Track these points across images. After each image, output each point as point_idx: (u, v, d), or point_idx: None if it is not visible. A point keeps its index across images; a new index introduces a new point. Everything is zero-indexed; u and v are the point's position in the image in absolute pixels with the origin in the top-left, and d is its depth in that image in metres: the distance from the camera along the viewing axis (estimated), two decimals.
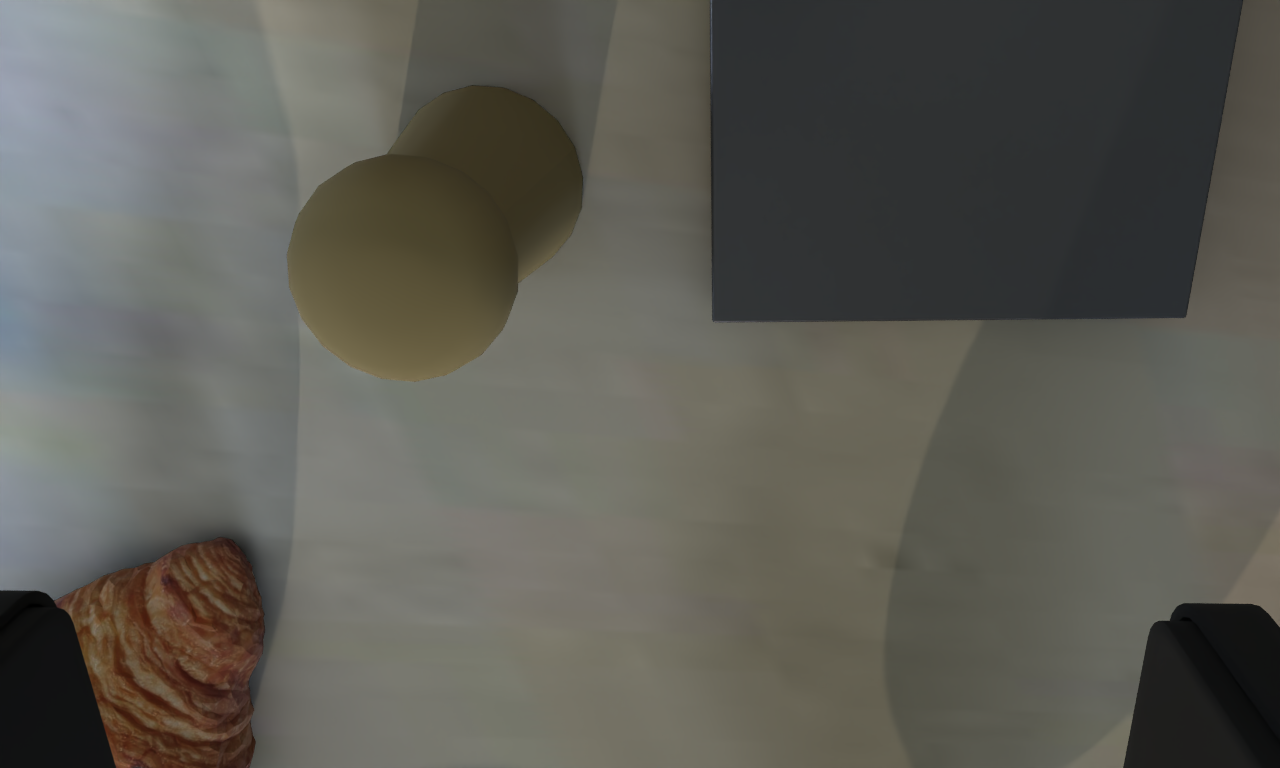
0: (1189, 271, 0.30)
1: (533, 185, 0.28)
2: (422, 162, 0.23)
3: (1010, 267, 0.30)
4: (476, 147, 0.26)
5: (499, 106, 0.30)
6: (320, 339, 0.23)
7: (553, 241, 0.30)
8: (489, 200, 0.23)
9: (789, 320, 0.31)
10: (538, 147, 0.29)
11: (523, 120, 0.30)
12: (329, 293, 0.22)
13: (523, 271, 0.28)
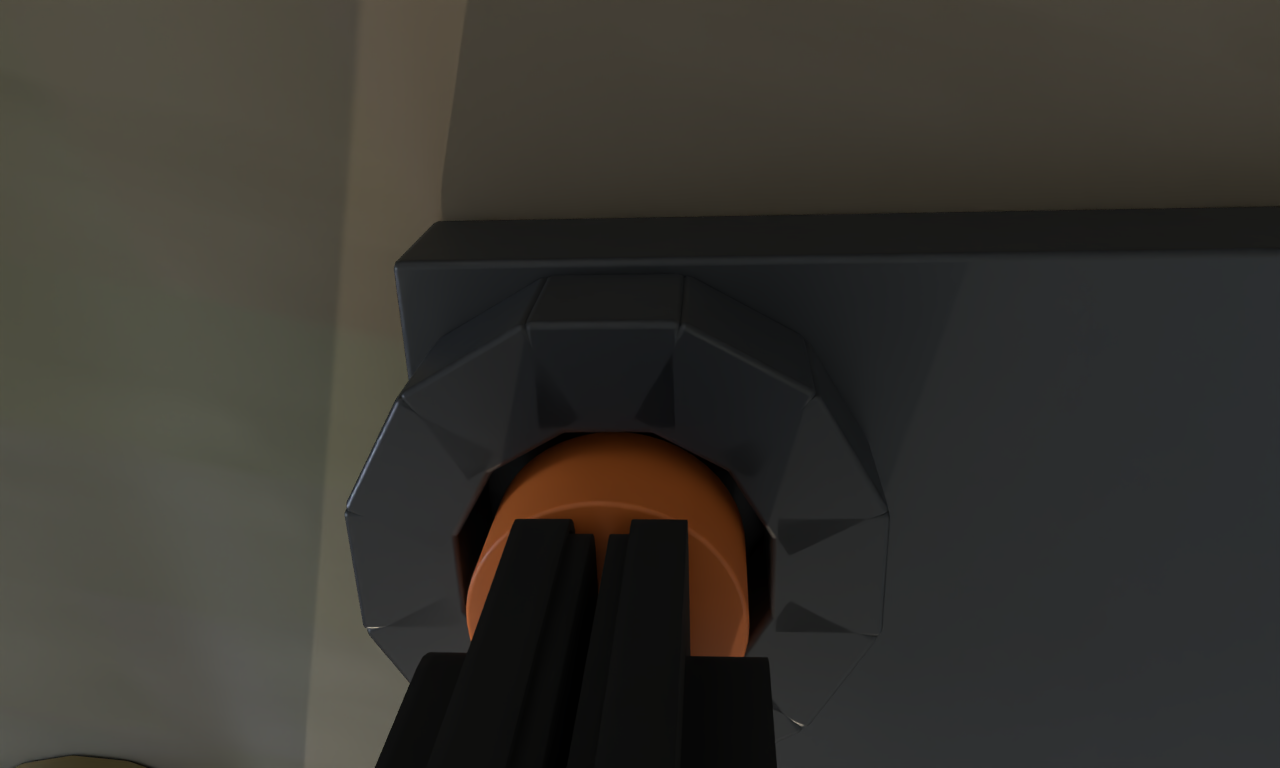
0: None
1: None
2: None
3: None
4: None
5: None
6: None
7: None
8: None
9: None
10: None
11: None
12: None
13: None
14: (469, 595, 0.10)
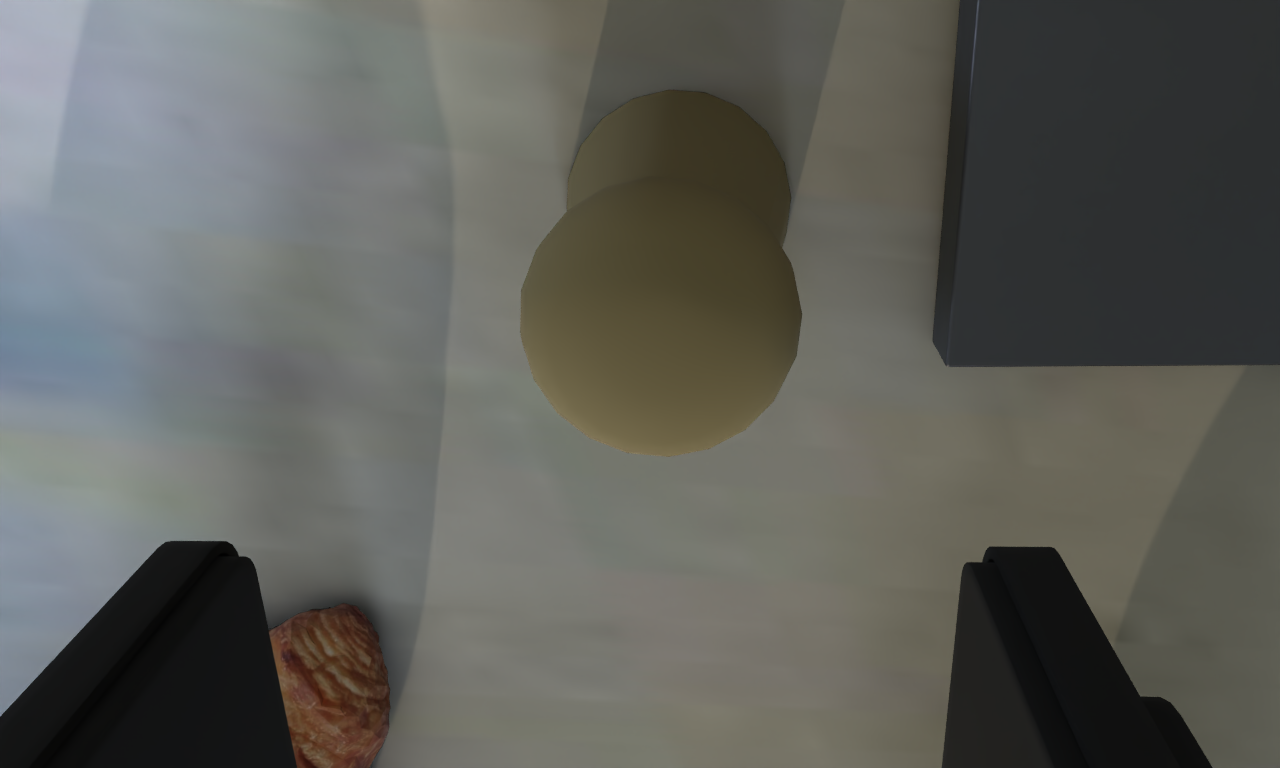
0: None
1: (771, 209, 0.23)
2: (697, 187, 0.18)
3: None
4: (715, 165, 0.22)
5: (712, 114, 0.25)
6: (562, 407, 0.19)
7: None
8: (773, 234, 0.19)
9: (1037, 365, 0.27)
10: (763, 163, 0.25)
11: (740, 131, 0.25)
12: (584, 352, 0.18)
13: None
14: None
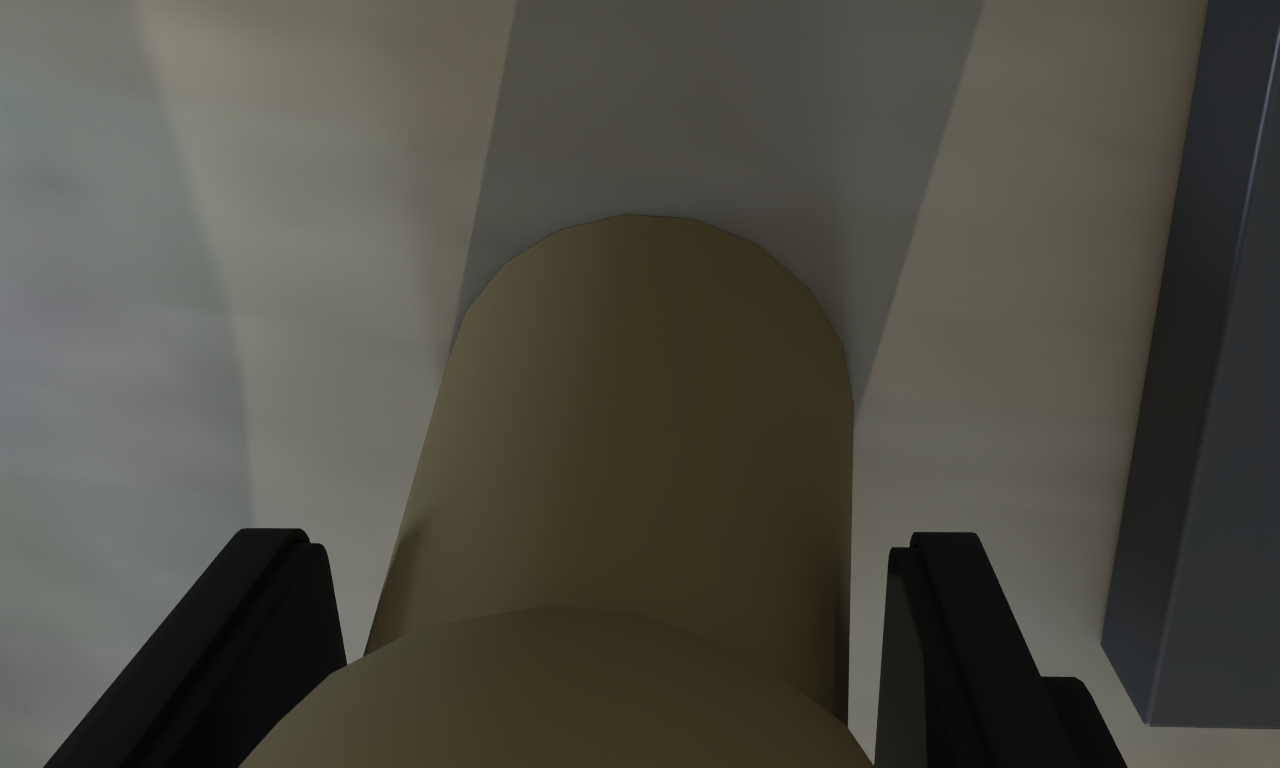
0: None
1: (836, 517, 0.11)
2: (658, 724, 0.06)
3: None
4: (714, 450, 0.09)
5: (708, 279, 0.13)
6: None
7: None
8: None
9: None
10: (812, 384, 0.12)
11: (764, 312, 0.13)
12: None
13: None
14: None
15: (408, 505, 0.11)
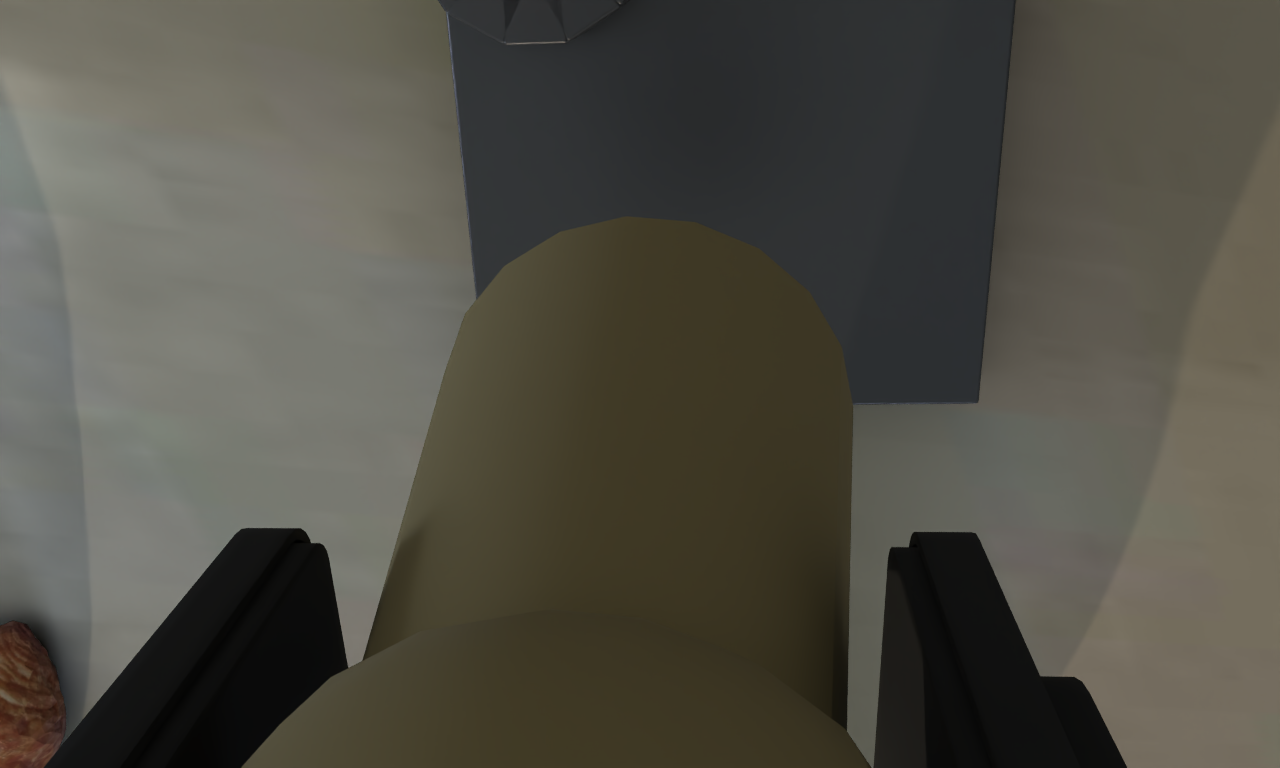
0: (977, 356, 0.28)
1: (835, 519, 0.11)
2: (658, 727, 0.06)
3: None
4: (714, 452, 0.09)
5: (707, 281, 0.13)
6: None
7: None
8: None
9: None
10: (811, 387, 0.12)
11: (764, 314, 0.13)
12: None
13: None
14: None
15: (408, 507, 0.11)
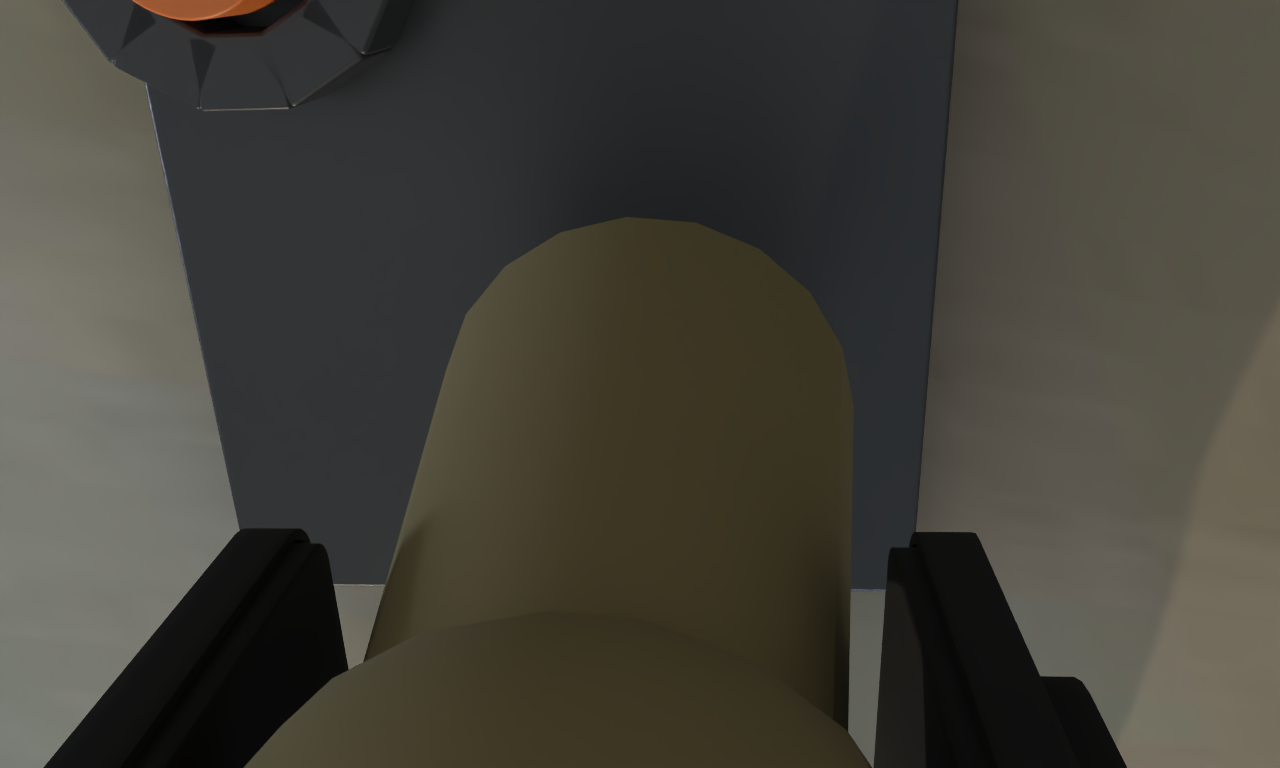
0: (907, 531, 0.21)
1: (837, 521, 0.11)
2: (660, 730, 0.06)
3: None
4: (714, 454, 0.09)
5: (708, 282, 0.13)
6: None
7: None
8: None
9: (355, 584, 0.22)
10: (812, 387, 0.12)
11: (765, 315, 0.13)
12: None
13: None
14: None
15: (409, 508, 0.11)
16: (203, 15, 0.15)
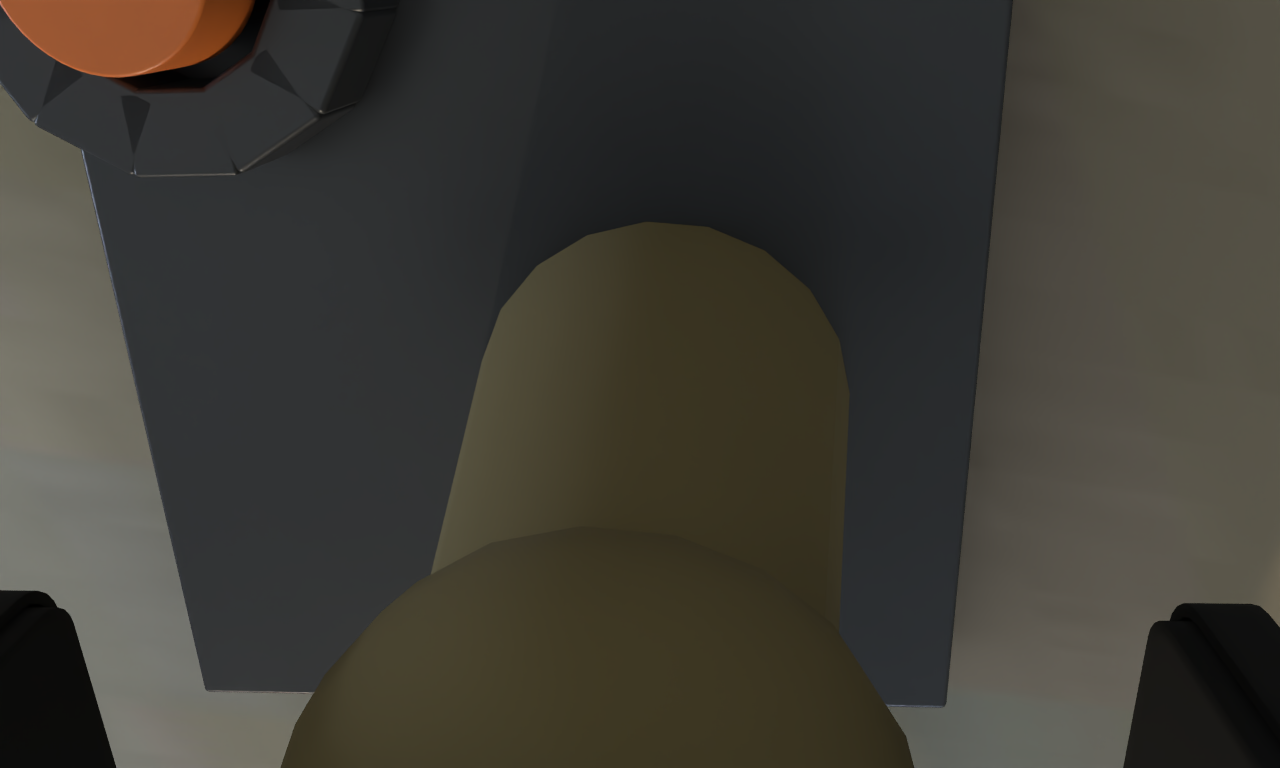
0: (943, 643, 0.18)
1: (830, 480, 0.12)
2: (684, 600, 0.07)
3: None
4: (725, 418, 0.11)
5: (719, 277, 0.14)
6: None
7: None
8: (868, 687, 0.08)
9: None
10: (811, 370, 0.14)
11: (769, 307, 0.14)
12: None
13: None
14: None
15: (459, 470, 0.13)
16: (129, 71, 0.13)
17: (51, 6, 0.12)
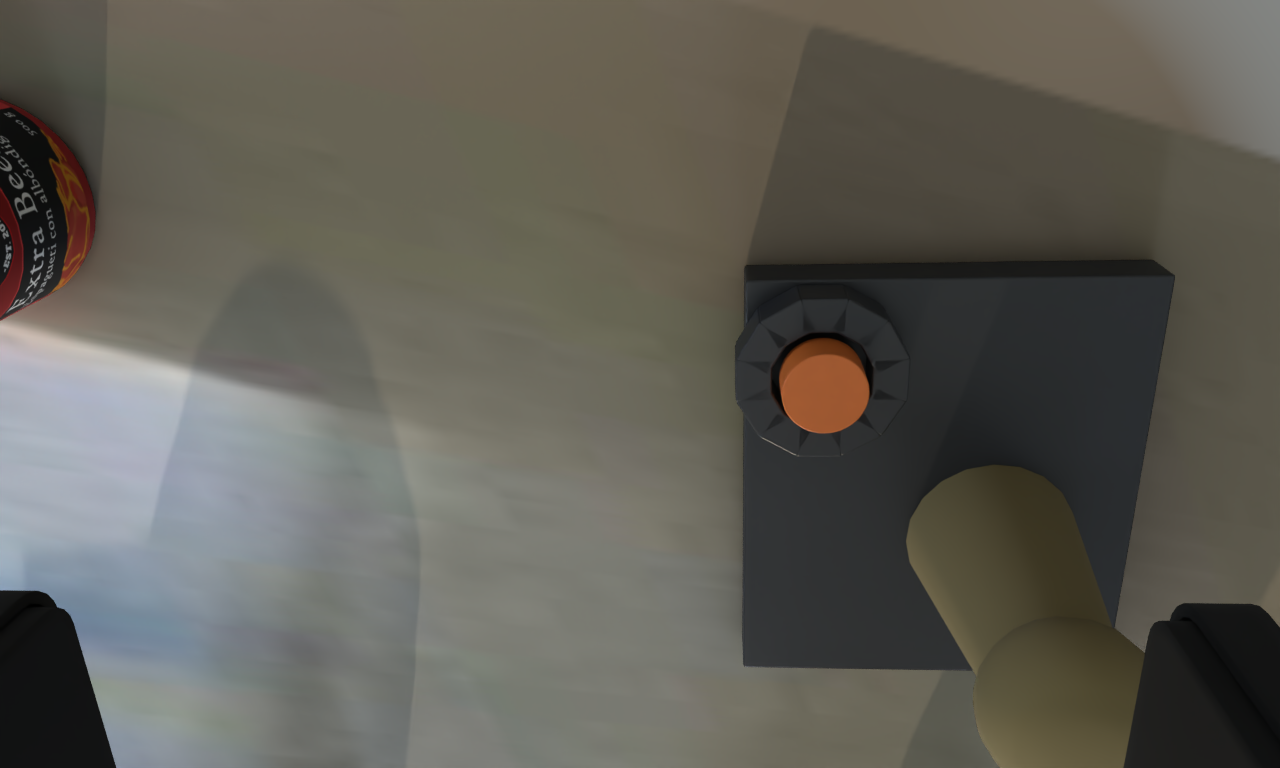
0: None
1: (1098, 587, 0.33)
2: (1110, 640, 0.28)
3: None
4: (1071, 570, 0.32)
5: (1037, 498, 0.35)
6: None
7: None
8: None
9: (802, 667, 0.41)
10: (1078, 538, 0.35)
11: (1058, 510, 0.35)
12: (1041, 748, 0.28)
13: None
14: (783, 384, 0.33)
15: (956, 582, 0.34)
16: (829, 432, 0.34)
17: (805, 410, 0.33)
